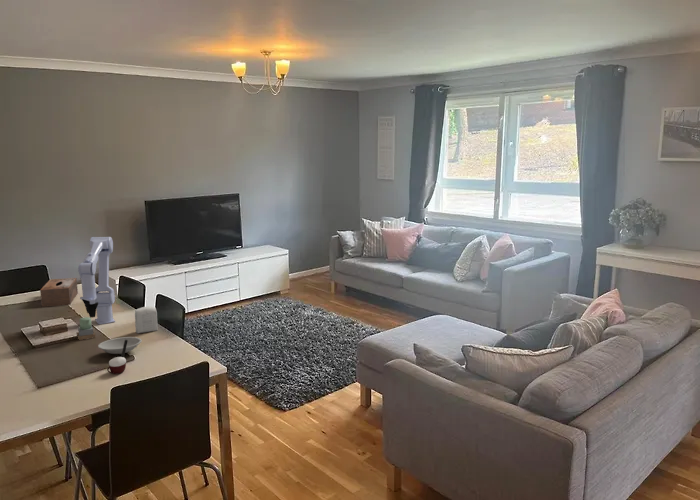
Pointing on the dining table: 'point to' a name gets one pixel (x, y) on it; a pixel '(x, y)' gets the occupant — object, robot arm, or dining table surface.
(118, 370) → the cocoa
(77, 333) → the walnut base block
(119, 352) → the dish
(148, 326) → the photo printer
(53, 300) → the tissue box cover
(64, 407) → the dining table surface
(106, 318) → the robot arm
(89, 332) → the slate top block
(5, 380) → the dining table surface
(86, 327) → the pale green block
